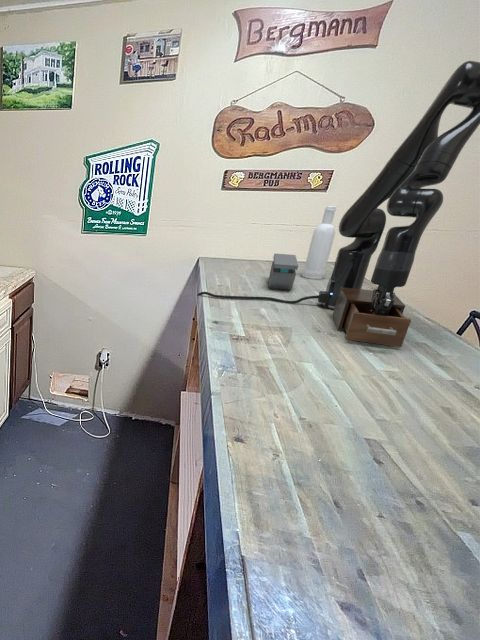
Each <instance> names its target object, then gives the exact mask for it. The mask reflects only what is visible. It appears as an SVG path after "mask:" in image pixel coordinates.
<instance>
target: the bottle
mask: <svg viewBox="0 0 480 640" xmlns="http://www.w3.org/2000/svg"><path fill="white" fill-rule="evenodd" d="M336 211H337V206H336V205H326V206H325V208H324V213H323V215H322V220H321V223H320V224H318V225H317V226H316V227H315V228H314V230H313V232H312V236H311V241H310V244H309V248H308V252H307V255H306V256H307V257H306V260H305V263H304V267H303V270H302V275H301V276H302V277H303V278H306V279H311V280H322V279H324V276H325V273H326V268H327V265H328V261H329V258H330V253H331V250H332V246H333V243H334V239H335V236H336V227H335V225H334V224H333V221H334V217H335V213H336Z"/></svg>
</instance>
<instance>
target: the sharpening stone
mask: <svg viewBox="0 0 480 640" xmlns="http://www.w3.org/2000/svg"><path fill="white" fill-rule="evenodd" d="M272 259H273V261H272V262H271V267H270V271H269V275H268V276H269V277H268V282H267V283H268V285H267V287H268V288H269V289H276V290H288V291H291V290H292V288H293V285H294V282H295V280H296V276H297V273H296V271H298V268H299V264H298V259H297V256H296V254H286V253H273V257H272Z"/></svg>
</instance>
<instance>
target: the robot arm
mask: <svg viewBox="0 0 480 640" xmlns="http://www.w3.org/2000/svg"><path fill="white" fill-rule="evenodd" d="M449 105H453V106H456V107H462V108H466V109H469V110H470V109H471V110H470V112H469V113H468V115H467V116H466V117H465V118H464V119H462V120H461V121H460V122H458V123H457V124H456V125H454V126H453V127H451V128H450V129H448V130H447V131H445V132H443V133H442V134H440V135H439V129H440V128H439V127H440V122H441V118H442V116H443V114H444V112H445V110H446V109H447V108H448V106H449ZM479 126H480V61H475V60H466V61H465V62H463V63H462V64H461V65H459V66H458V67H457V68H456V69H455V70H454V72H453V73H452V74H451V75H450V76H449V78H448V79H447V80H446V82H445V83H444V84H443V86H442V87H441V89H440V91H439V92H438V93H437V95H436V96H435V98H434V99H433V101H432V102H431V103H430V105H429V106H428V108H427V109H426V111H424V114H423V115H422V117H421V118H420V120H419V121H418V122H417V124H416V125H415V126H414V128H413V129H412V130H411V131H410V133H408V135H407V136H406V138H405V139H404V140H403V142H402V143H401V144H400V145H399V146H398V147H397V148H396V150H395V152H393V154H392V155H391V157H390V158H389V159H388V161H387V162H386V163H385V165H384V166H383V168H382V169H381V171H380V172H379V173H378V174H377V176H376V177H375V178H374V179H373V181H372V182H371V183H370V184H369V185H368V186H367V188H366V189H365V190H364V191H363V193H362V194H361V195H360V196H358V198H357V199H356V200H355V201H354V202H353V204H352V205H351V206H350V207H349V208H347V210H346V211H345V212H344V214H343V215H342V217H341V218H340V221H339V224H338V233H339V234H340V235H341V236H342V237H345V238H351V239H352V238H354V240H353V241H352V242H351V243H349V244H347V245H345V246H343V247H340V248H339V249H338V251H337V254H336V258H335V262H334V265H333V268H332V272H331V275H330V277H329V279H328V281H327V285H326V289H325V291H324V290H319V293H318V295H317V294H316V295H308V296H303V297H301V298H299V299H297V300H285V299H281V298H275V297H271V296H270V297H269V296H249V295H248V296H245V295H243V296H242V295H224V294H223V295H221V294H220V295H219V294H215V293H211V292H208V291H201V292H199V293H197V294H196V296H198V297H200V296H202V295H207V296H209V297H212V298H215V299H216V298H217V299H235V300H236V299H237V300H265V301H274V302H278V303H283V304H299V303H301V302H302V301H305V300H313V299H317V303H321V305H322V307H323V309H325V308H326V309H330V310H334V308H335V305H336V301H337V298H338V294H339V291H340V288H341V287H343V288H353V289H363V288H362V287H363V285H364V282H365V281H364V280H365V278H366V275H367V271H368V268H369V265H370V262H371V259H372V256H373V255H374V253H376V251H377V248H378V246H379V243H380V241H381V238H382V236H383V234H384V230H385V227H386V224H387V214H386V212H387V213H388V215H390V216H392V217H399V218H401V217H402V218H412V219H413V218H415V219H414V221H413V222H412V223H410V224H407V225H397V226H393V227H391V228H389V229H388V230H387V232H386V235H385V238H384V242H383V245H382V248H381V250H380V253H379V254H378V257H377V260H376V262H375V266H374V269H373V273H372V276H371V279H370V283H372V284H374V285H377V288H374V289H372V290H373V296H372V301H371V306H370V309H371V310H370V312H371V314H375V315H383V316H387V315H388V313H389V311H390V309H391V307H392V305H393V303H394V300H393V299H394V296H395V295H396V292H395V288H403V287H404V286H406V285H407V282H408V279H409V276H410V273H411V270H412V268H413V265H414V261H415V256H416V252H417V249H418V247H419V243H420V240H421V238H422V236H423V234H424V232H425V230H426V229H427V227H428V226H429V224H430V223H431V221H432V220H433V218H434V217H435V215H436V214H437V213H438V212H439V210H440V208H441V207H442V205H443V203H444V194H443V192H442V191H441V189H437V188H424V187H430V186H435V185H439V184H441V183H443V182H445V180H446V179H447V177H448V176H449V174H450V172H451V170H452V168H453V166H454V165H455V163H456V161H457V159H458V157H459V155H460V153H461V151H463V149H464V147H465V145H466V144H467V143H468V141H469V140H470V138H471V137H472V136H473V134H474V133H475V132H476V130H477V129H478V128H479ZM386 201H387V203H386V212H385V211H384V210H383V209H382V208H379V207H380V206H381V205H382V204H383V203H385V202H386Z"/></svg>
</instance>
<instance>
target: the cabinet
mask: <svg viewBox="0 0 480 640" xmlns="http://www.w3.org/2000/svg"><path fill="white" fill-rule="evenodd" d="M373 290H374V289H363V288H361V289H353V288H343V287H341V288H340V291H339V294H338V298H337V301H336V305H335V308H334V309H333V312H332V318H333V321H334V324H335V326H336V330H337V331H342V332H346V330H345V328H344V326H343V322H344V319H345V315H346V312H347V309H348V306H349V303H358V304H368V305H371V301H372V296H373ZM393 300H394V303H393V305H392V307H396V308H398V309H399V310H400V312H401V313H402V314H403V315H404V311H405V309H406V308H405V307H406V305H405V304H404V302H403V301H402V300H401V299H400V298H399V297H398V296H397V294H395V296H394V299H393Z"/></svg>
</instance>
